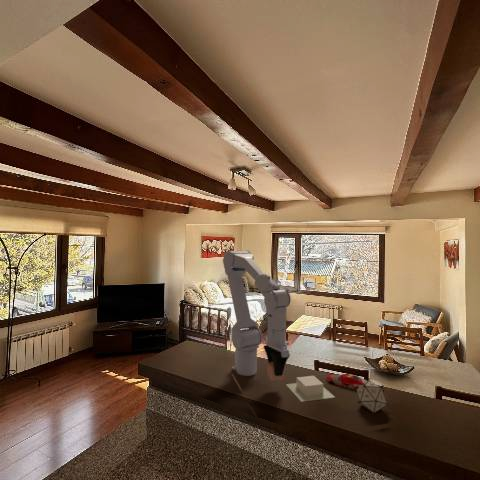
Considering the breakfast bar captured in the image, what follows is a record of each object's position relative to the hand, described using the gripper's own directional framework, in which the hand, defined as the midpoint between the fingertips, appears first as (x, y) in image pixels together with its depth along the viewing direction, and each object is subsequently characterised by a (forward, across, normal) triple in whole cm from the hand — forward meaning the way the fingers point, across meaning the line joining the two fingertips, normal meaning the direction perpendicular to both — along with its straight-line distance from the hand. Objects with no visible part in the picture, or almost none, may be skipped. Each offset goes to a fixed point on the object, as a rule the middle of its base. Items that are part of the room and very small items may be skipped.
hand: (275, 372), depth 93 cm
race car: (+7, -2, -24) cm, 25 cm away
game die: (+6, -16, -22) cm, 28 cm away
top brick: (+2, 0, 0) cm, 2 cm away
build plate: (+6, -3, -10) cm, 12 cm away
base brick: (+5, -3, -10) cm, 12 cm away
